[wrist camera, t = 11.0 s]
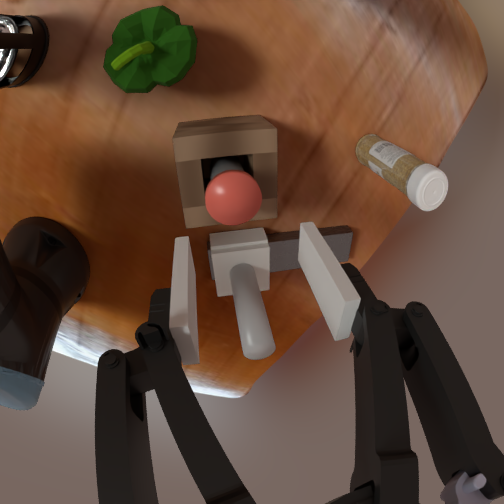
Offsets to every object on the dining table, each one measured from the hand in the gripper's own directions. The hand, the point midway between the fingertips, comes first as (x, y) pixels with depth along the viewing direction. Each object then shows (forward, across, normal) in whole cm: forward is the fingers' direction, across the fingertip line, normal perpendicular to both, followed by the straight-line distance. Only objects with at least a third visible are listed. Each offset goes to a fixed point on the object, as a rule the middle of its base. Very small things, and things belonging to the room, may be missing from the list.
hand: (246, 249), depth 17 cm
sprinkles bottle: (+19, +19, 0) cm, 27 cm away
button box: (+19, 0, 0) cm, 19 cm away
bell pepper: (+19, -6, +13) cm, 24 cm away
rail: (+19, +7, -14) cm, 25 cm away
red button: (+15, 0, 0) cm, 15 cm away
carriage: (+19, +1, -14) cm, 24 cm away
